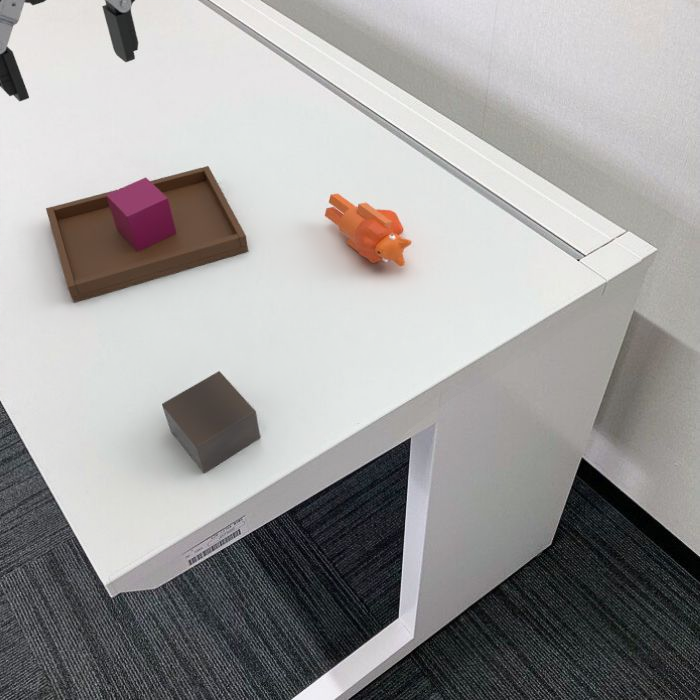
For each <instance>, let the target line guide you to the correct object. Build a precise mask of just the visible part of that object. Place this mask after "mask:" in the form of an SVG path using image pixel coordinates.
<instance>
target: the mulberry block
mask: <svg viewBox="0 0 700 700" xmlns="http://www.w3.org/2000/svg"><path fill="white" fill-rule="evenodd" d="M150 181H151V180H149V178H147V177H143V178H141V179H139V180H136V181H134V182H131V183H129V184H127V185H125V186H123V187H121V188H120V187H119V188H118V189H115V190H116V191H114V190H112V191H113V192H111V193H109V194H107V195H106V197H107V200H108V203H109V206H110V209H111V212H112V216H113V219H114V222H115V225H116V228H117V230H118V231H119V232H120V234H121V235H122V236H123V237H124V238H125V239H126V240H127V241H128V242H129V243H130V244H131V245H132V246H133V247H134V248H135V249H136V251H137V252H138V251H140V250H142V249H145V248H147V247H149V246H151V245H153V244H155V243H157V242H159V241H161V240H163V239H165V238H168V237H170V236H172V235H174V234H176V229H175V225H174V221H173V217H172V213H171V209H170V205H169V201H168V198H167V197H166V196H165V195H164V194H163V193H162V192H161V191H160V190H159V189H158V188H157V187H156V186H155V185H153V184H152V183H151V182H150Z"/></svg>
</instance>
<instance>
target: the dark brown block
mask: <svg viewBox="0 0 700 700" xmlns="http://www.w3.org/2000/svg"><path fill="white" fill-rule="evenodd" d="M161 407H162V410H163V412H164V416H165V417H166V422H167V425H168V427H169V430H170V432H171V434H173V436H174V437H175V438H176V439H177V441H178V442H179V444H180V445H181V446H182V447H183V448H184V449H185V451H186V452H187V453H188V455H189V456H190V457H191V459H192V460H193V461H194V462H195V463H196V465H197V466H198V467H199V469H200V470H201V471H202V473H204V474H206V473H207V472H209V471H210V470H212V469H213V468H215V467H217V466H218V465H220V464H221V463H223V462H225V461H227V460H228V459H230V458H231V457H232V456H234V455H236V454H238V453H239V452H240V451H242V450H244V449H245V448H247V447H248V446H250V445H252V444H253V443H255V442H256V441H258V440H259V439H261V438H262V437H261V433H260V432H261V431H260V426H259V421H258V416H257V411H256V410H255V408H254V407H253V406H252V405H251V404H250V403H249V402H248V401H247V400H246V399H245V398H244V396H243V395H242V394H241V393H240V391H238V390H237V389H236V388H235V386H233V384H232V383H231V382H230V381H229V380H228V379H227V378H226V376H225V375H224V374H223V373H222V372H221V371H220V370H219V371H217V372H215V373H213V374H212V375H210V376H208V377H206V378H205V379H203V380H201V381H199V382H197V383H196V384H194V385H192V386H190V387H189V388H187V389H185V390H184V391H181V392H180V393H178V394H176V395H175V396H173V397H171V398H170V399H168V400H165V402H162V403H161Z"/></svg>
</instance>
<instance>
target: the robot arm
mask: <svg viewBox="0 0 700 700" xmlns="http://www.w3.org/2000/svg"><path fill="white" fill-rule="evenodd" d="M46 1H47V0H0V88H1V89H2V90H3V91H4V92H5V93H6V94H7V95H8V96H9V97H12V96H13V97H14V98H15V99H16V100H17V101H18V102H22V101H26V100H29V99H30V95H29V92H28V89H27V87H26V84H25V81H24V78H23V75H22V73H21V71H20V68H19V66H18V63H17V62H18V61H17V60H16V57H15V54H14V51H12V49H10V47H9V46H8V44H9V41H10V38H11V34H12V31H13V29H14V26H16V25H17V24H18V23H19V21H20V18H21V14H22V12H23V8H24V6H25V5H24V4H25V3H26V4H30V5H31V6H36V5H39V4H43V3H45V2H46ZM135 1H136V0H104V2H105V4H103V5H102V6H101V7H102V11H103V14H104V19H105V23H106V26H107V29H108V34H109V37H110V41H111V45H112V48H113V52H114V54H115V55H116V56H117V57H118V58H119V59H121V60H122V61H123V62H124V63H129V62H130V61H134V60H135V59H136V55H135V52H137V51H138V49H139V40H138V36H137V32H136V27H135V23H134V19H133V14H132V6H133V3H135Z"/></svg>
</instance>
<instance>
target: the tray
mask: <svg viewBox="0 0 700 700" xmlns="http://www.w3.org/2000/svg"><path fill="white" fill-rule="evenodd" d="M149 181H150V182H151V183H152V184H153V185H155V186H156V187H157V188H158V189H159V190H160V191H161V192H162V193H163V194H164V195H165V196H166V197H167V198H168V201H169V205H170V209H171V213H172V217H173V221H174V225H175V229H176V234H174V235H172V236H170V237H168V238H165V239H163V240H161V241H159V242H157V243H155V244H153V245H151V246H149V247H147V248H145V249H142V250H140V251H138V252H137V251H136V249H135V248H134V247H133V246H132V245H131V244H130V243H129V242H128V241H127V240H126V239H125V238H124V237H123V236H122V235H121V234H120V232H119V231H118V230H117V228H116V225H115V222H114V219H113V216H112V212H111V209H110V206H109V203H108V200H107V197H106V195H107V194H109V193H111V192H113V191H116V190H117V189H114V190H110V191H106V192H102V193H99V194H95V195H92V196H88V197H84V198H81V199H76V200H73V201H67V202H65V203H61V204H57V205H54V206H50V207H46V208H45V210H46V214H47V217H48V221H49V224H50V229H51V233H52V236H53V240H54V243H55V247H56V250H57V254H58V257H59V258H58V259H59V261H60V266H61V268H62V272H63V276H64V280H65V283H66V287H67V290H68V292H69V294H70V297H71V300H72V302H73V303H74V304H75V303H77V302H82V301H85V300H88V299H92V298H95V297H98V296H101V295H104V294H108V293H111V292H115V291H118V290H122V289H125V288H128V287H132V286H135V285H136V286H137V285H139V284H142V283H146V282H149V281H153V280H155V279H158V278H162V277H166V276H169V275H173V274H176V273H179V272H183V271H186V270H189V269H194V268H196V267H199V266H203V265H207V264H210V263H214V262H217V261H220V260H224V259H227V258H230V257H233V256H234V257H235V256H237V255H241V254H243V253H247V252H249V245H248V240H247V236H246V234H245V231H244V229H243V228H242V226H241V224H240V222H239V220H238V219H237V216H236V215H235V213H234V211H233V210H232V207H231V206H230V203H229V201H228V200H227V198H226V196H225V194H224V192H223V190H222V188H221V187H220V185H219V183H218V181H217V179H216V177H215V176H214V173H213V171H212V170H211V168H210V166H209V165H206V166H203V167H198V168H195V169H191V170H186V171H183V172H180V173H175V174H172V175H168V176H164V177H160V178H157V179H153V180H152V179H151V180H149Z"/></svg>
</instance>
